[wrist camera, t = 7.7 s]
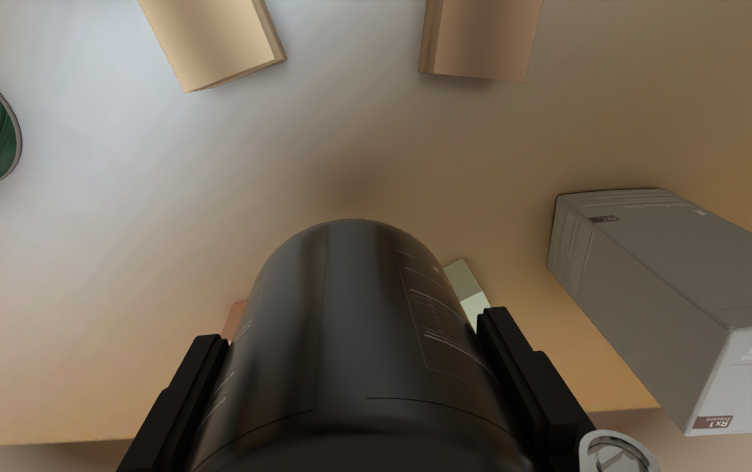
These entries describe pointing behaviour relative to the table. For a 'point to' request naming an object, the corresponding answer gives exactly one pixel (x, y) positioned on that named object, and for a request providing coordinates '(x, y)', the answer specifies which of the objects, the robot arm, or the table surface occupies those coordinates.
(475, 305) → the sage painted cube
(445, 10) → the walnut cube
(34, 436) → the table surface
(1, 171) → the canned tomato
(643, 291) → the skincare box
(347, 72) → the table surface
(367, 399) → the supplement bottle
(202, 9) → the maple cube
